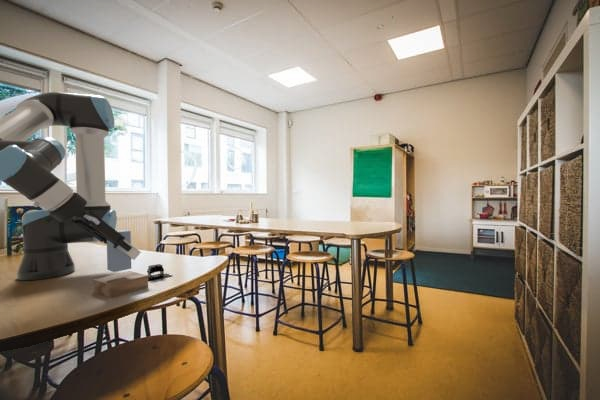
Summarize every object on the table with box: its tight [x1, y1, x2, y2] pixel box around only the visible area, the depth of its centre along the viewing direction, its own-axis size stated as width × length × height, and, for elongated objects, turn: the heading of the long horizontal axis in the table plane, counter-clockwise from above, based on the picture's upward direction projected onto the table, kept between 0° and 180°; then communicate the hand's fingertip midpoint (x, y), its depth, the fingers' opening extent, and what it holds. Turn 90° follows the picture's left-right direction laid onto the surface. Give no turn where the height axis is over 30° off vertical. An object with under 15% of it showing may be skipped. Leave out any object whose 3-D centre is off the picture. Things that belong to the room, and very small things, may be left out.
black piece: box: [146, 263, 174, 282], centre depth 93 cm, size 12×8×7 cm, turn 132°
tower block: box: [106, 229, 132, 273], centre depth 81 cm, size 4×4×11 cm
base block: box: [93, 270, 149, 299], centre depth 82 cm, size 10×10×4 cm
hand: (132, 254), depth 84 cm, fingers closed on tower block, 4 cm apart
